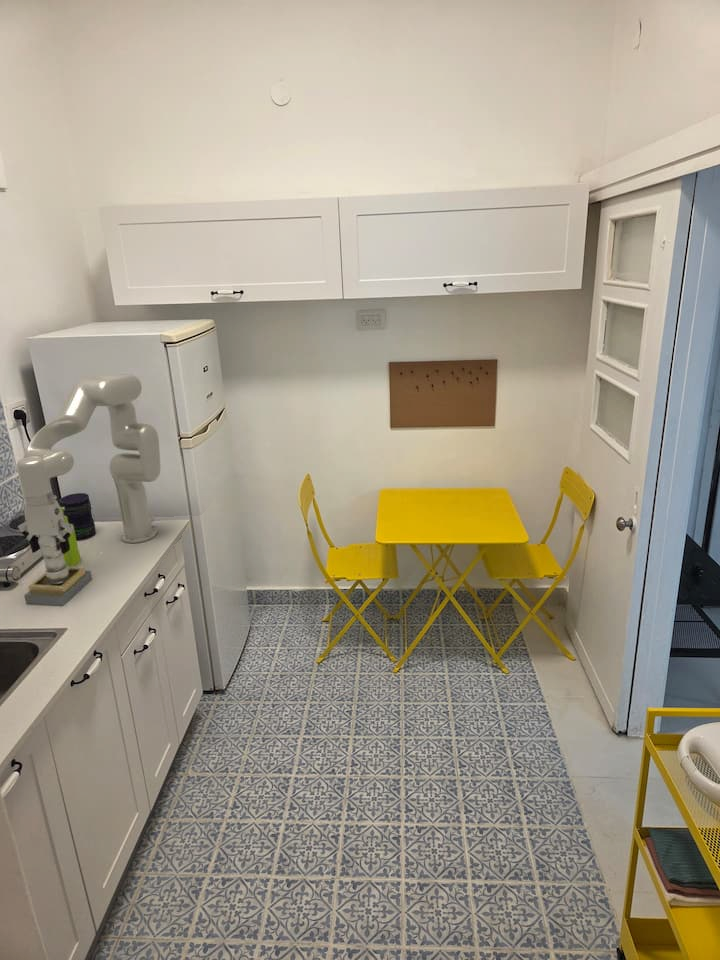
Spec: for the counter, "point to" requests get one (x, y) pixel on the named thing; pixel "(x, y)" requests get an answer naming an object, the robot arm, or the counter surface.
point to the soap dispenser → (71, 547)
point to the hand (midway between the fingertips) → (51, 551)
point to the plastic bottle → (53, 560)
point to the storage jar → (79, 515)
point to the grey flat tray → (57, 588)
